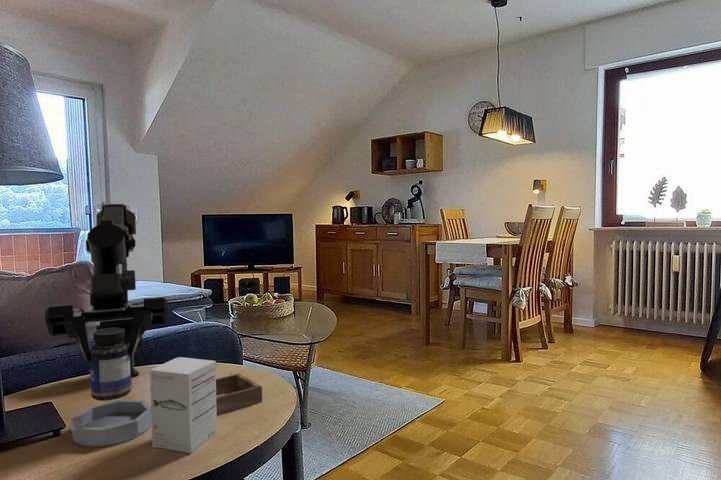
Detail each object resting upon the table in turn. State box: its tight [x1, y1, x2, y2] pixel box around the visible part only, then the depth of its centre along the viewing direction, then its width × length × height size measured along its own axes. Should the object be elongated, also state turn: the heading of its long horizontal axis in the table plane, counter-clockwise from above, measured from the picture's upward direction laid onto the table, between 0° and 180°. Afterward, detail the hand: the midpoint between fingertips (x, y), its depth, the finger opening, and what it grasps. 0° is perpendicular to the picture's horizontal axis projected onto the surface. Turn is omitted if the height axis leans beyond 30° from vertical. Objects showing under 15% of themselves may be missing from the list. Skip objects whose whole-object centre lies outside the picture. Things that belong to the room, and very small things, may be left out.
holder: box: [216, 372, 263, 416], centre depth 93 cm, size 10×10×3 cm
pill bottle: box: [89, 327, 133, 402], centre depth 80 cm, size 6×6×11 cm
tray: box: [70, 399, 152, 448], centre depth 81 cm, size 12×12×3 cm
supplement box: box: [149, 356, 218, 454], centre depth 77 cm, size 7×7×13 cm
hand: (109, 358), depth 79 cm, fingers closed on pill bottle, 6 cm apart
